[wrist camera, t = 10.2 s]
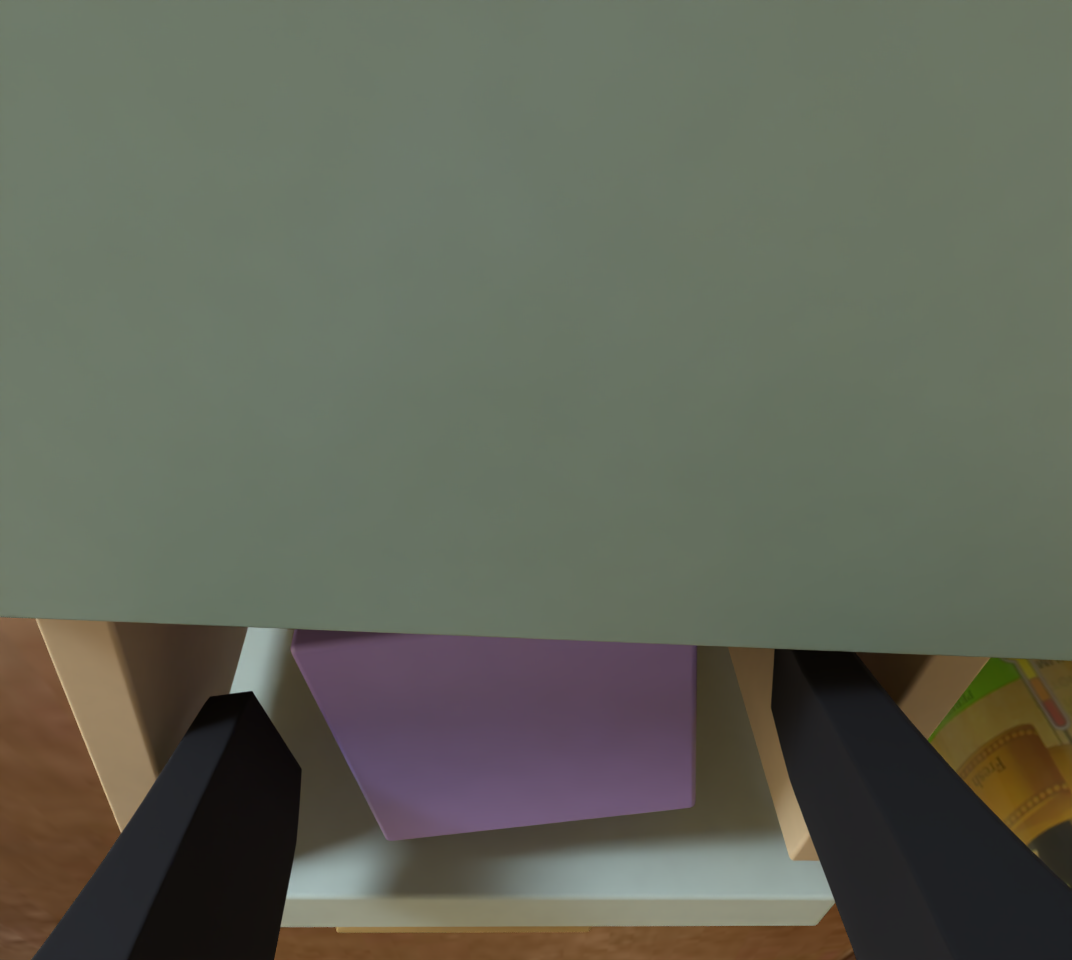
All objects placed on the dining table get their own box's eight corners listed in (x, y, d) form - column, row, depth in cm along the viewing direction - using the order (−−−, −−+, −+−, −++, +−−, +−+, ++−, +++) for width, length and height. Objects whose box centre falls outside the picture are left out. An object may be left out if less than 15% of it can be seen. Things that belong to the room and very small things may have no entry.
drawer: (676, 787, 23) (726, 1036, 19) (242, 779, 22) (176, 1048, 17) (979, 116, 12) (1317, 329, 7) (93, 2, 10) (-238, 174, 5)
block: (637, 373, 13) (699, 600, 9) (647, 577, 16) (696, 809, 12) (340, 411, 13) (285, 650, 9) (407, 607, 16) (386, 844, 12)
